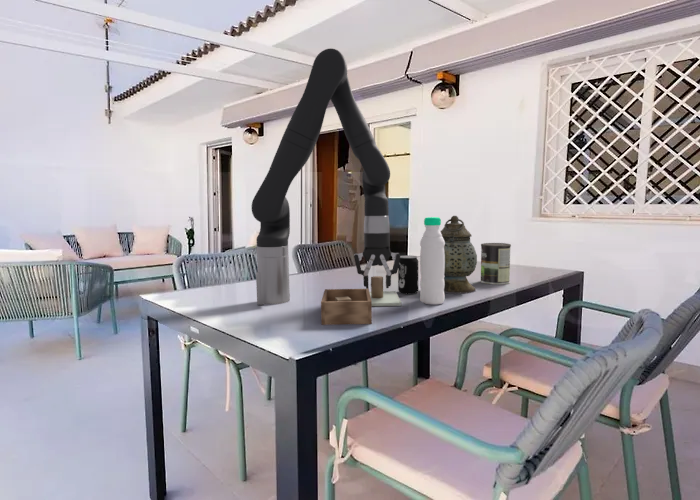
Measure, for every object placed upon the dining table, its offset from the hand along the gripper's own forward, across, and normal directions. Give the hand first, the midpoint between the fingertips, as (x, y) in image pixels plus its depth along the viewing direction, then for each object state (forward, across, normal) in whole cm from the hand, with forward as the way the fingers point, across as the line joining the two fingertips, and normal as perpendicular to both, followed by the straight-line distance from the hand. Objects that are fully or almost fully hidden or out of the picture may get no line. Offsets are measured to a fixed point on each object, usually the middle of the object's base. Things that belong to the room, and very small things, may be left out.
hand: (377, 287), depth 127 cm
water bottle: (+4, +16, -2) cm, 17 cm away
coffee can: (+4, +45, +29) cm, 54 cm away
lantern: (+4, +27, +16) cm, 32 cm away
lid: (+4, 0, 0) cm, 4 cm away
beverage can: (+4, +11, +13) cm, 18 cm away
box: (+4, -9, -18) cm, 21 cm away
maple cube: (+4, -10, -14) cm, 17 cm away
